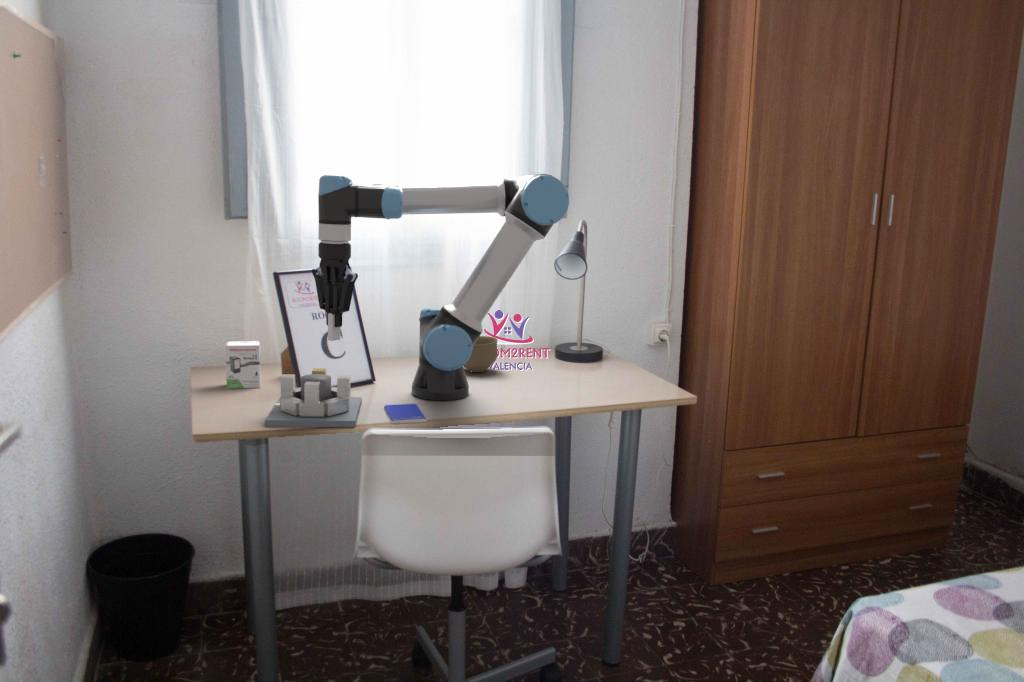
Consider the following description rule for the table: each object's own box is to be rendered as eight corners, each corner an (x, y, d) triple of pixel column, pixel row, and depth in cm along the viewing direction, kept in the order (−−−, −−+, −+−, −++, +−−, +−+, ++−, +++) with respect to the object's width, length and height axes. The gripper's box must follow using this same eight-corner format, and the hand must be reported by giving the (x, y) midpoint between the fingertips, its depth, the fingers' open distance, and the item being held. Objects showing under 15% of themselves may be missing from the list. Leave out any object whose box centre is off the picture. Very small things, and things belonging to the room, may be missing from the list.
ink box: (226, 389, 214) (225, 345, 212) (227, 384, 219) (226, 341, 216) (260, 388, 217) (259, 344, 214) (260, 383, 221) (259, 340, 219)
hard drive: (426, 417, 193) (416, 403, 205) (392, 419, 191) (384, 404, 202) (426, 423, 194) (416, 409, 205) (392, 425, 191) (384, 410, 203)
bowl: (453, 366, 250) (454, 334, 248) (495, 367, 251) (496, 335, 249) (454, 376, 237) (455, 342, 235) (498, 377, 239) (499, 343, 237)
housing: (361, 402, 207) (361, 368, 205) (355, 427, 187) (355, 389, 185) (280, 402, 204) (279, 367, 203) (265, 426, 185) (264, 388, 183)
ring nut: (352, 398, 204) (352, 369, 202) (346, 416, 189) (346, 385, 187) (287, 397, 202) (287, 368, 201) (276, 416, 187) (275, 384, 185)
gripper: (366, 243, 193) (365, 341, 197) (326, 239, 199) (325, 333, 204) (344, 245, 186) (343, 346, 191) (303, 240, 193) (303, 338, 198)
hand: (334, 339), depth 198 cm, fingers closed
